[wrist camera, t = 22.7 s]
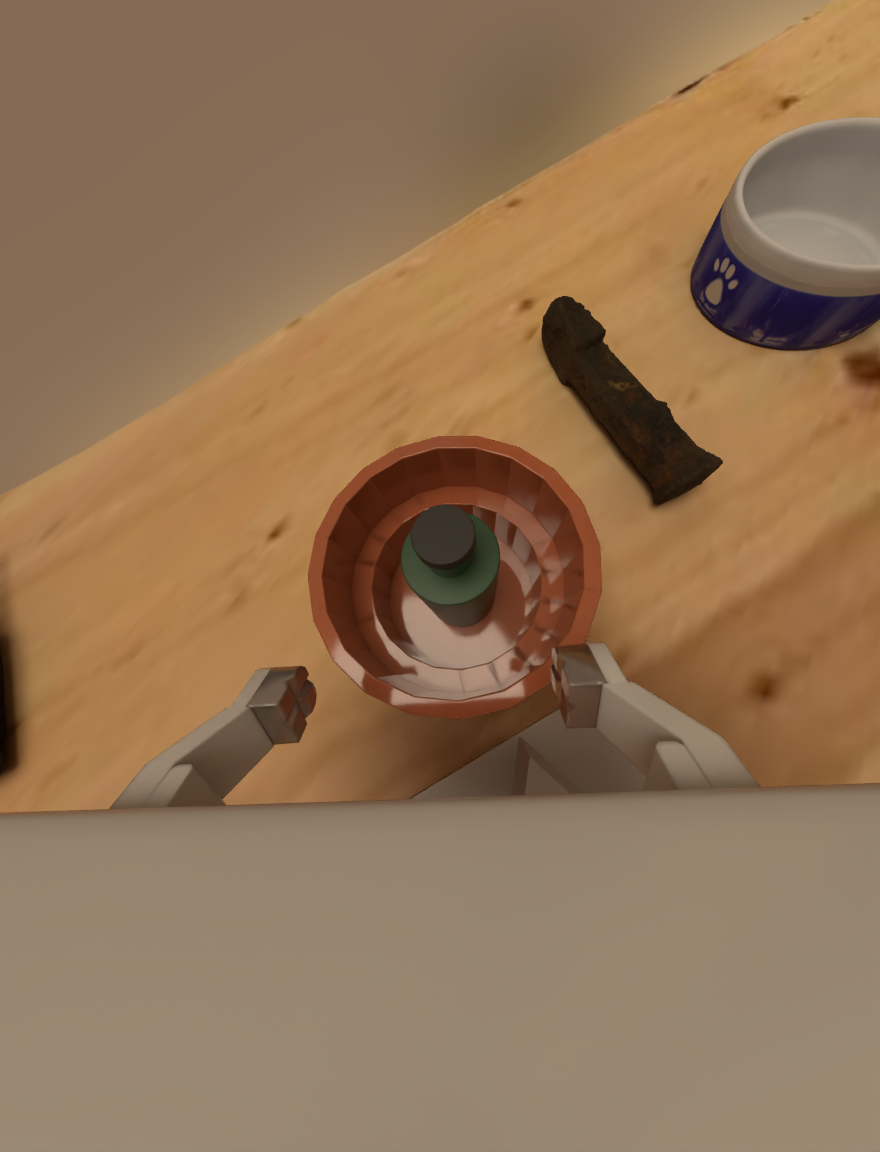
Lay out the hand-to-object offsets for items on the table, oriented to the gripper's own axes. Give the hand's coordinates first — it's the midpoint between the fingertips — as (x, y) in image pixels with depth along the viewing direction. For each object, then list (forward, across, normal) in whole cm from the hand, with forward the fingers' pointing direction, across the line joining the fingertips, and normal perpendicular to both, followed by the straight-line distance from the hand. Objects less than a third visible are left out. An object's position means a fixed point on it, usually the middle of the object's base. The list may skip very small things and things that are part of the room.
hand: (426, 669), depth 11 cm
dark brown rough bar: (+23, -13, -4) cm, 27 cm away
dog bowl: (+31, -31, -12) cm, 45 cm away
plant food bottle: (+13, -1, +5) cm, 14 cm away
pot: (+13, -1, +6) cm, 15 cm away
